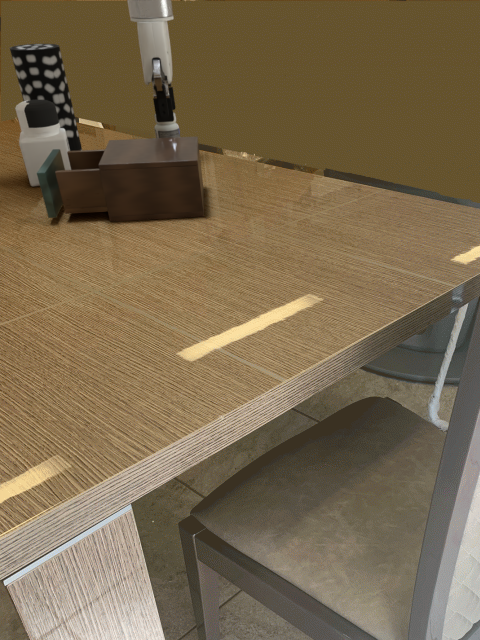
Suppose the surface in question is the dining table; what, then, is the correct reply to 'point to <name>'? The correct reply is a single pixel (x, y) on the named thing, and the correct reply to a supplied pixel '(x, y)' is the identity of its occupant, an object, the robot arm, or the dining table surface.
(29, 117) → the container
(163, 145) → the cabinet
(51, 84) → the spotted tube
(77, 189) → the drawer
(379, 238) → the dining table surface
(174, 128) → the pill bottle
